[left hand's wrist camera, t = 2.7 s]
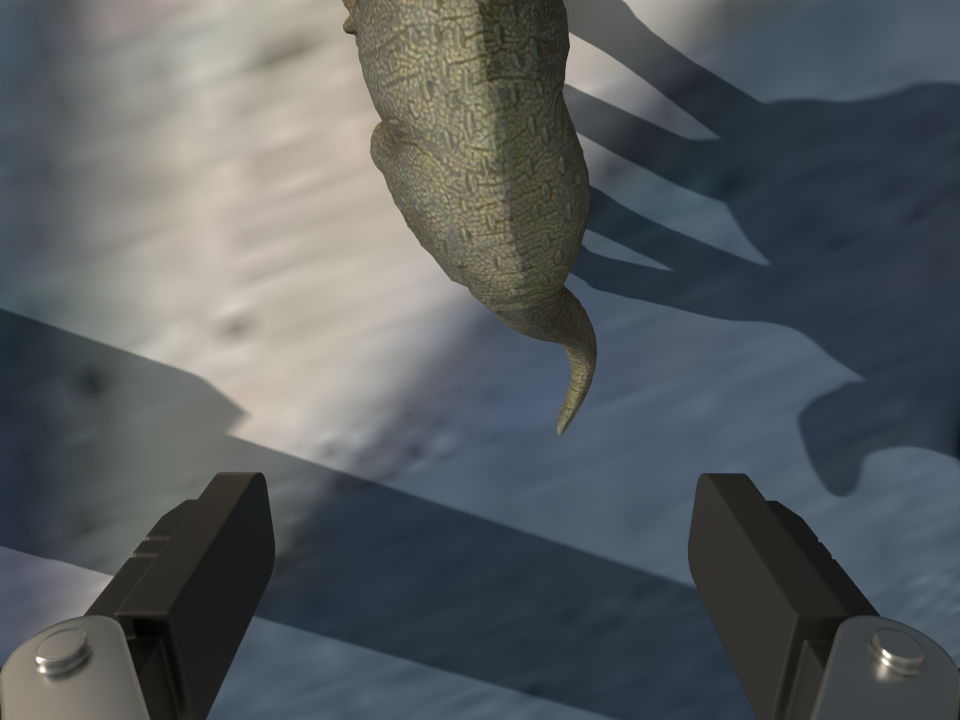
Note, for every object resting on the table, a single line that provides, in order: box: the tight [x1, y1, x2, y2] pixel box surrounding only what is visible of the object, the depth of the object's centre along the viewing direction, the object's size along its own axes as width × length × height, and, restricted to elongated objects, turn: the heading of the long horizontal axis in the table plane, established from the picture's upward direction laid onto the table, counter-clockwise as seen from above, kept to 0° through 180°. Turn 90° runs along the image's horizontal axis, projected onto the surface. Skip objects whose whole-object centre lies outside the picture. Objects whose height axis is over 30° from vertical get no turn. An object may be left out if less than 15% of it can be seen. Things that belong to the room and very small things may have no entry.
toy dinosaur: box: [342, 0, 597, 436], centre depth 17 cm, size 22×8×11 cm, turn 0°
